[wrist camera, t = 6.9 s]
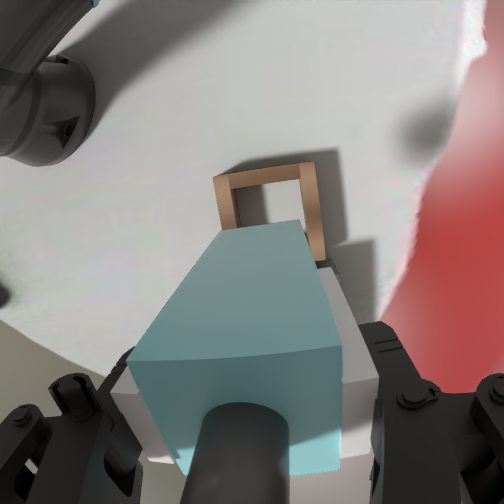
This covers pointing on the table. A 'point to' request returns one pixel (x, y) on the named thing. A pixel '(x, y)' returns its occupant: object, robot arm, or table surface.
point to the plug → (246, 369)
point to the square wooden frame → (269, 175)
